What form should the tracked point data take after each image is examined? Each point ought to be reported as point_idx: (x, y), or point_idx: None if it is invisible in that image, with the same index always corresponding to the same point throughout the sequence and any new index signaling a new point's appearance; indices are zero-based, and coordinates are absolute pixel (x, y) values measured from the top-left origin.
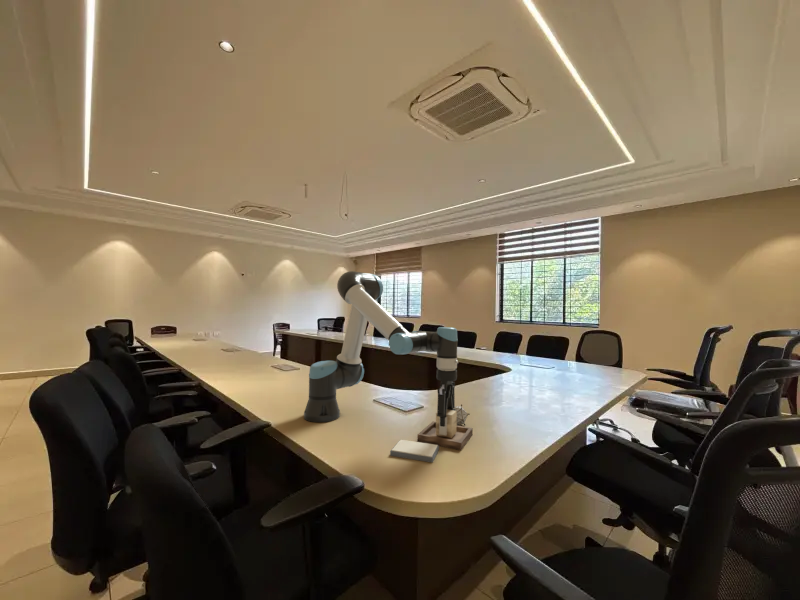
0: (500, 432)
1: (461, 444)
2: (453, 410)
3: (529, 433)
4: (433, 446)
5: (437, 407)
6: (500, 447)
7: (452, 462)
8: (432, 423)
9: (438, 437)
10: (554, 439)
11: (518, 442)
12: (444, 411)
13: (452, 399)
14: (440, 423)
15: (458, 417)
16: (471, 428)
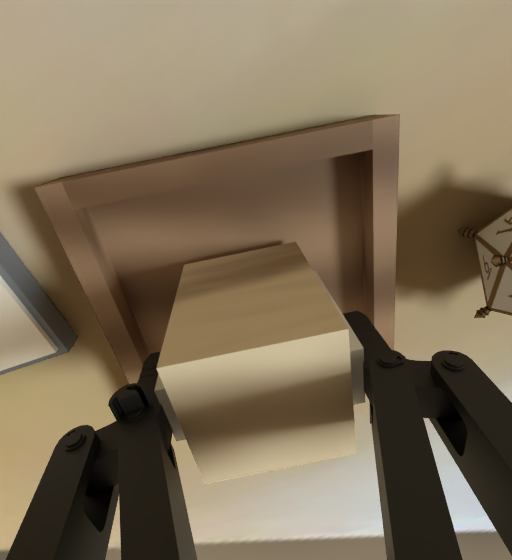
0: None
1: None
2: (351, 434)
3: None
4: (17, 347)
5: (15, 537)
6: (301, 472)
7: (25, 430)
8: (343, 143)
9: (120, 326)
10: (468, 530)
11: None
12: (97, 527)
13: (485, 497)
14: (142, 372)
15: (500, 291)
16: None
